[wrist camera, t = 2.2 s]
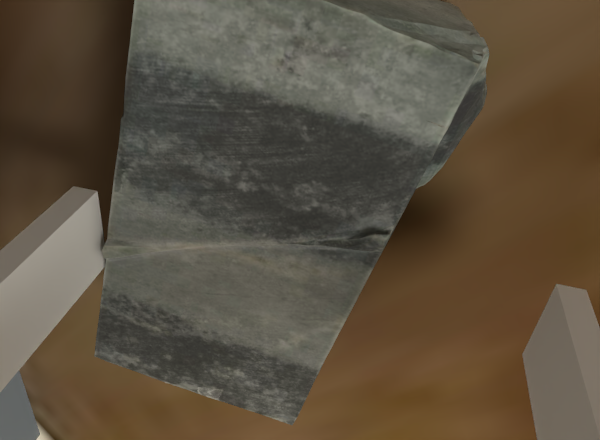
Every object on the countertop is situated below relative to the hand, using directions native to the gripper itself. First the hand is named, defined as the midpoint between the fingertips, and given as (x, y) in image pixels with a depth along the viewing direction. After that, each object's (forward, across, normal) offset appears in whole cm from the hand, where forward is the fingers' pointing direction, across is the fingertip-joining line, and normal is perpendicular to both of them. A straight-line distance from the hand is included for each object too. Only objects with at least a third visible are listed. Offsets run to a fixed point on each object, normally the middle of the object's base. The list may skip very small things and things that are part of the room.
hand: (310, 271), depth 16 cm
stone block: (+5, -2, +1) cm, 5 cm away
